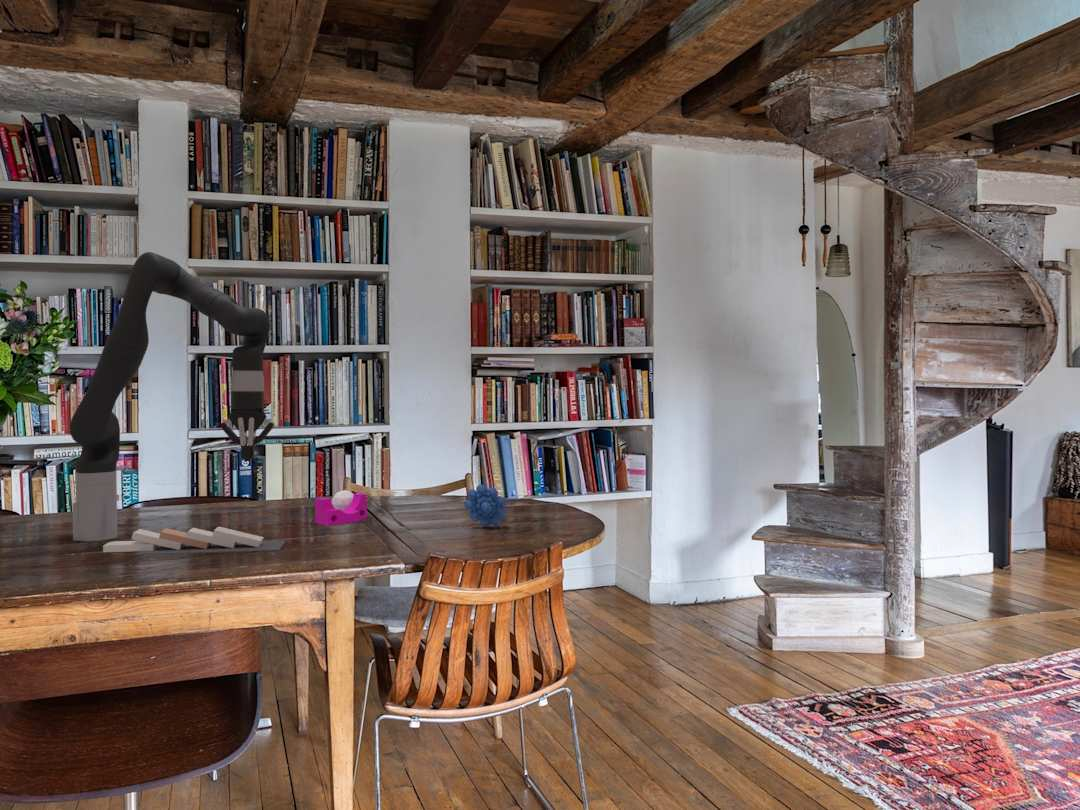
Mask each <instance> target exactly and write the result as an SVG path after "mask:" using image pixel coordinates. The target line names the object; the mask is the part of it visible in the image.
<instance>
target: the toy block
mask: <svg viewBox="0 0 1080 810" xmlns="http://www.w3.org/2000/svg"><path fill="white" fill-rule="evenodd" d="M353 494H354V495H353V499H352V502H351V503H350V505H349V506H348V507H347V508H346V509H344V510H342V511H341V510H340V509H335V508H334V506H333V505H332V498H329V497H316V498H315V499H314V500H315V502H314V503H315V506H314V507H315V513H314V514H315V524H316V523H318V524H317V525H321V524H323V525H322V526H326V525H327V526H326V527H331V526H330V525H332V526H337V524H339V525H344V523H346V524H350V523H351V524H352V522H353V523H357V522H360V520H367V519H368V494H366V493H360V492H358V493H353Z"/></svg>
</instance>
